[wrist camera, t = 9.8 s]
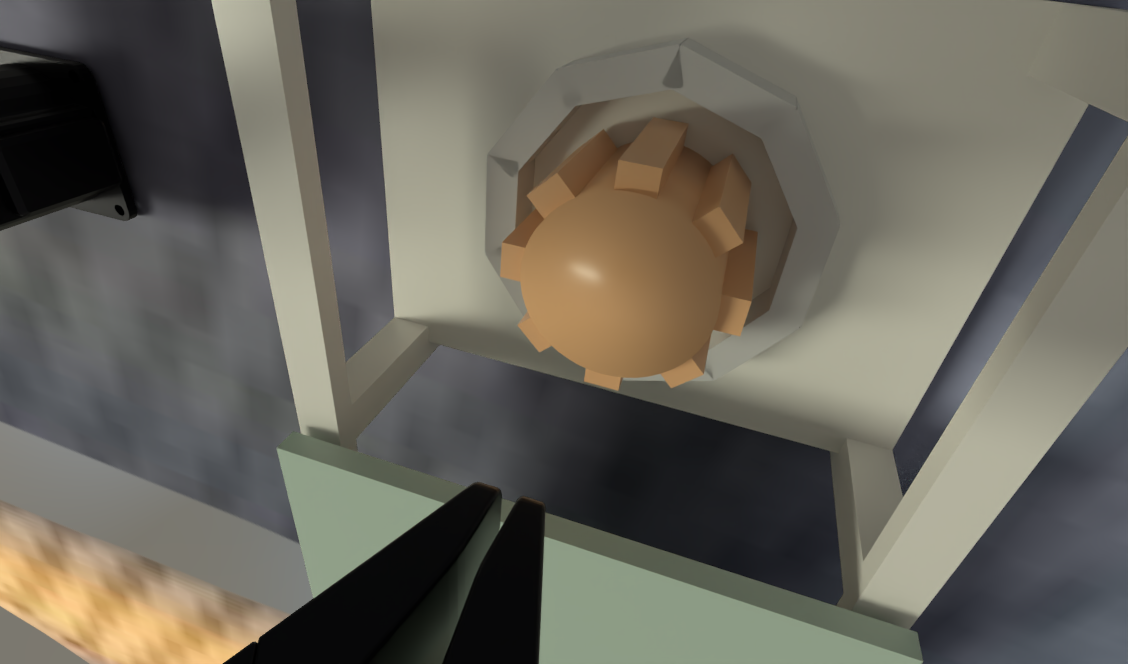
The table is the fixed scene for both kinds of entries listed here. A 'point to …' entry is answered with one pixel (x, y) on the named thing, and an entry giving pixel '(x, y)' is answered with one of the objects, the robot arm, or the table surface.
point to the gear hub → (635, 257)
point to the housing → (776, 211)
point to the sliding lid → (584, 578)
